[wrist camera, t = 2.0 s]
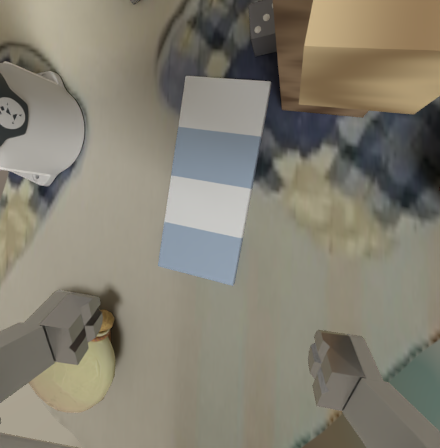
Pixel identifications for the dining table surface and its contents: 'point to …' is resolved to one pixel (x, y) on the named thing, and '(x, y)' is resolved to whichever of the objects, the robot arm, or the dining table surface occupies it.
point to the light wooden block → (372, 55)
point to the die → (262, 27)
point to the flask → (80, 375)
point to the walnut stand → (296, 56)
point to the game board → (213, 175)
